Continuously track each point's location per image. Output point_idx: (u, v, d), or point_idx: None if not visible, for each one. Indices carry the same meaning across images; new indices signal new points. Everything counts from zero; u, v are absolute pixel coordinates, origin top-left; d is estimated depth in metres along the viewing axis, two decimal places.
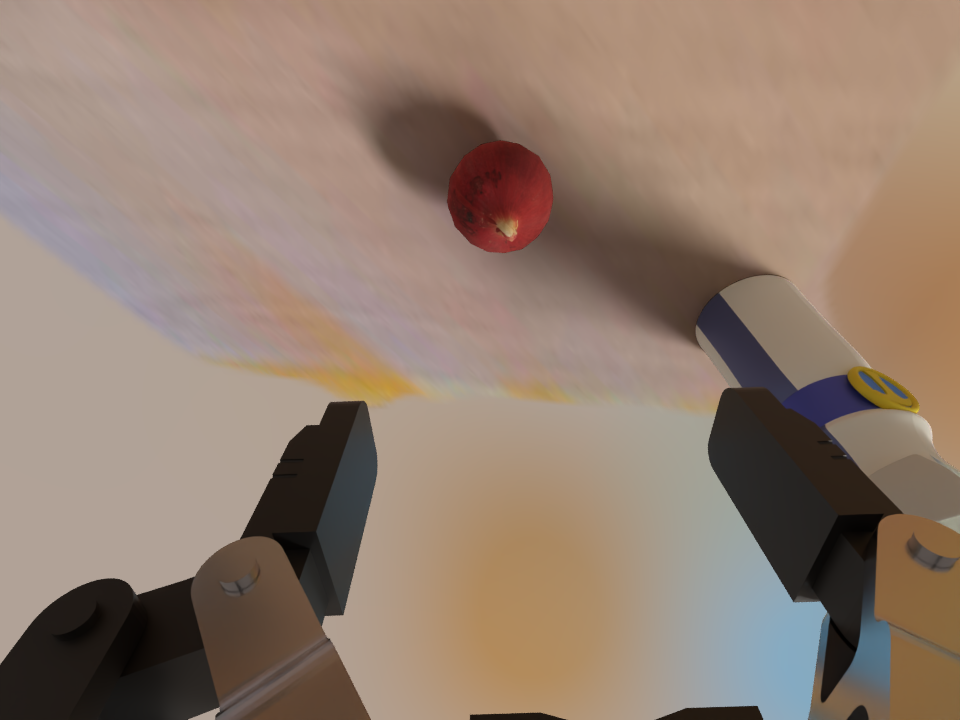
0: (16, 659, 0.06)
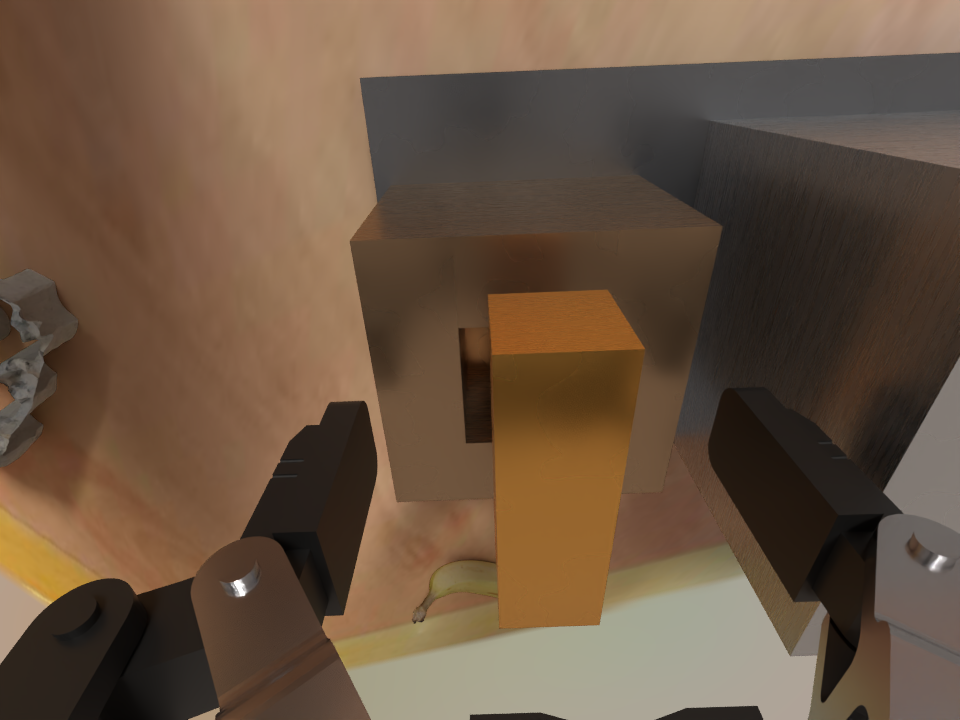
0: (16, 659, 0.06)
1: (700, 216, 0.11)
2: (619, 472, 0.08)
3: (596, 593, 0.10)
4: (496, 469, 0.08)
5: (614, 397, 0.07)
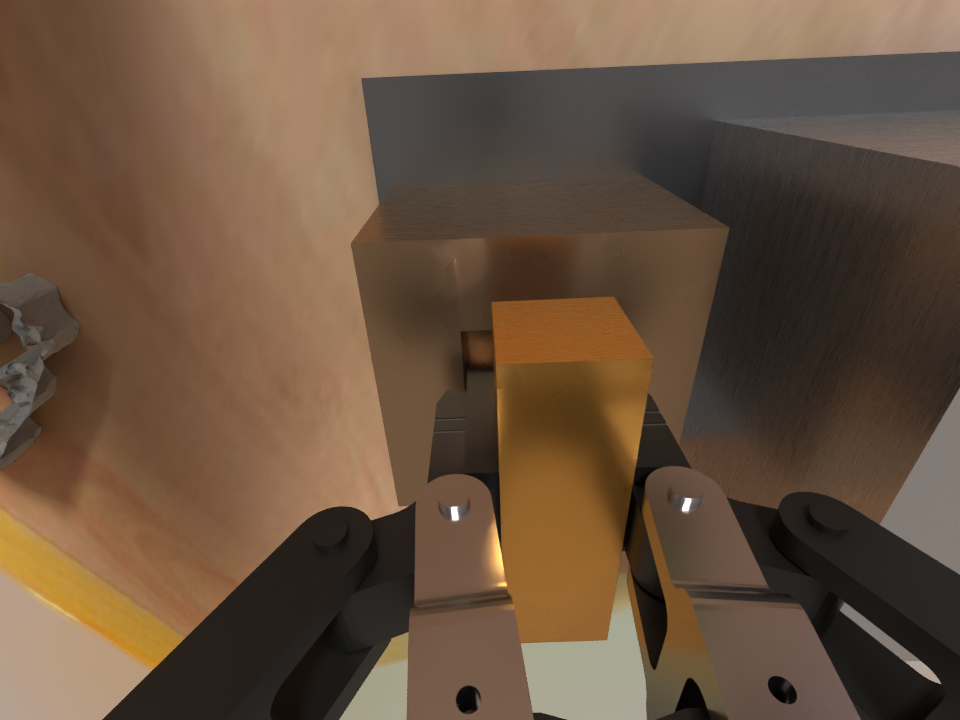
0: (288, 549, 0.07)
1: (706, 217, 0.11)
2: (627, 484, 0.08)
3: (603, 608, 0.10)
4: (500, 481, 0.08)
5: (622, 407, 0.07)
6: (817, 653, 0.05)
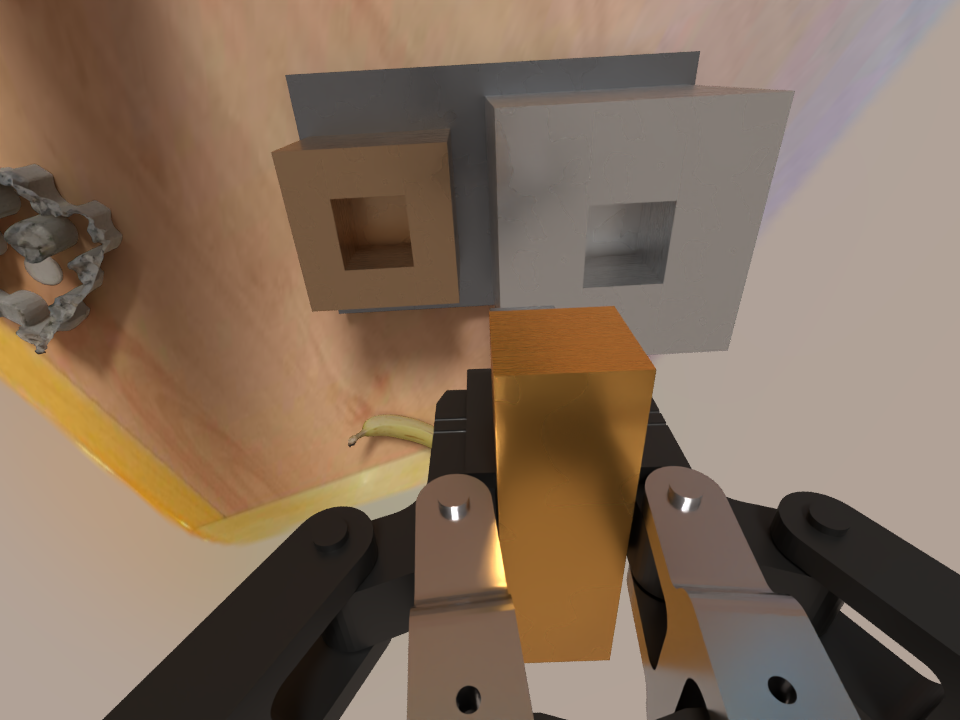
0: (288, 549, 0.07)
1: (444, 140, 0.22)
2: (629, 499, 0.08)
3: (606, 627, 0.09)
4: (499, 496, 0.08)
5: (624, 420, 0.07)
6: (817, 653, 0.05)
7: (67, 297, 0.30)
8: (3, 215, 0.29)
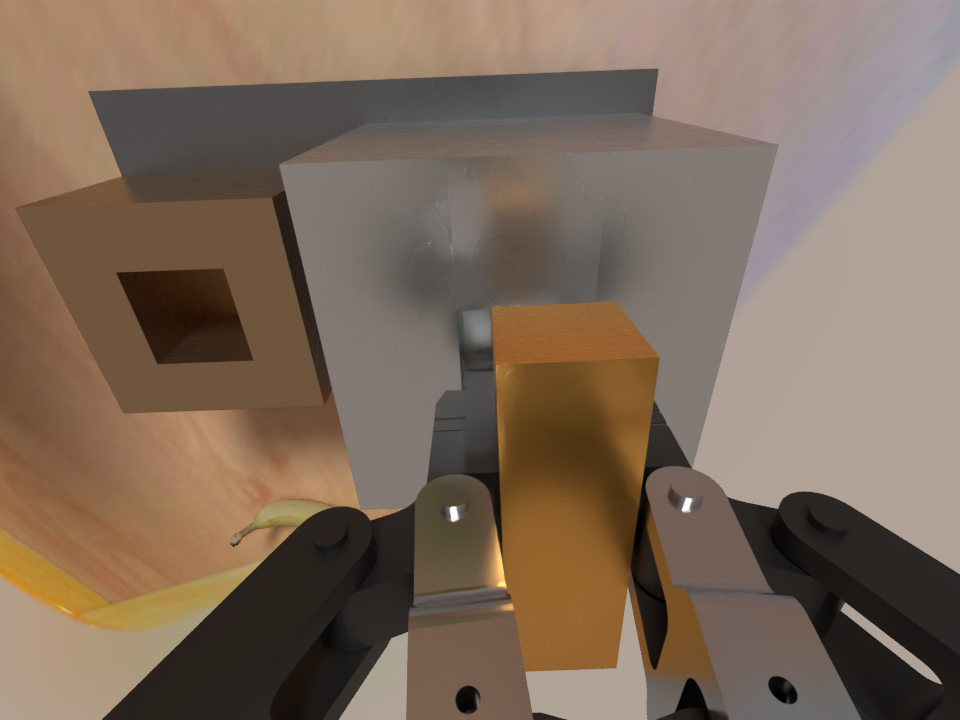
0: (287, 549, 0.07)
1: (276, 192, 0.15)
2: (634, 494, 0.07)
3: (612, 631, 0.09)
4: (501, 492, 0.07)
5: (628, 411, 0.07)
6: (818, 653, 0.05)
7: None
8: None
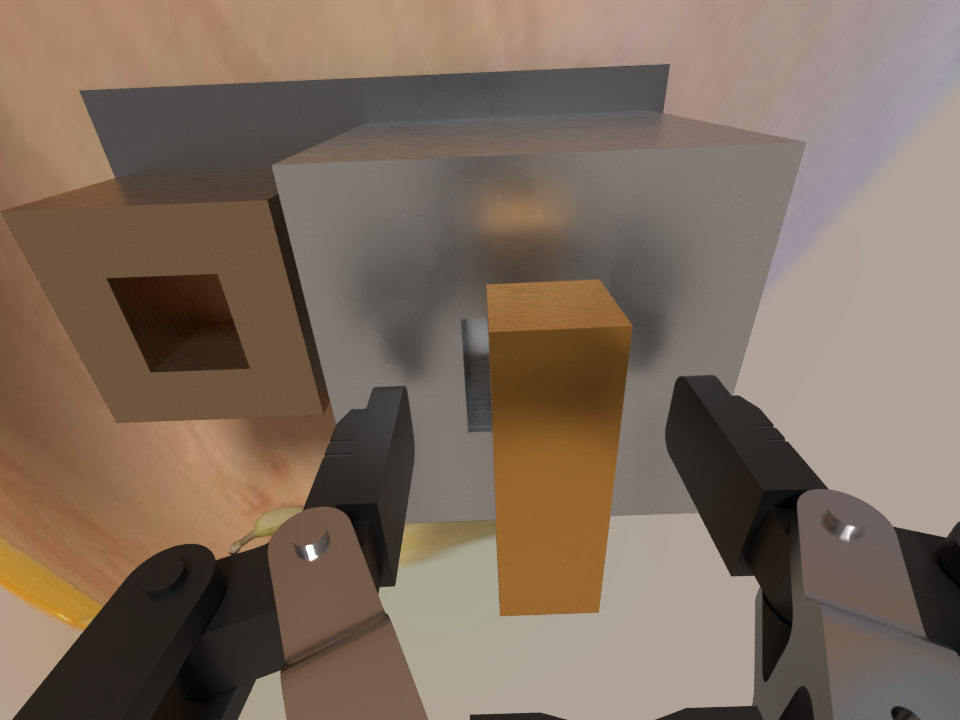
0: (113, 608, 0.06)
1: (272, 194, 0.15)
2: (612, 450, 0.08)
3: (594, 578, 0.10)
4: (494, 447, 0.08)
5: (605, 374, 0.08)
6: None
7: None
8: None
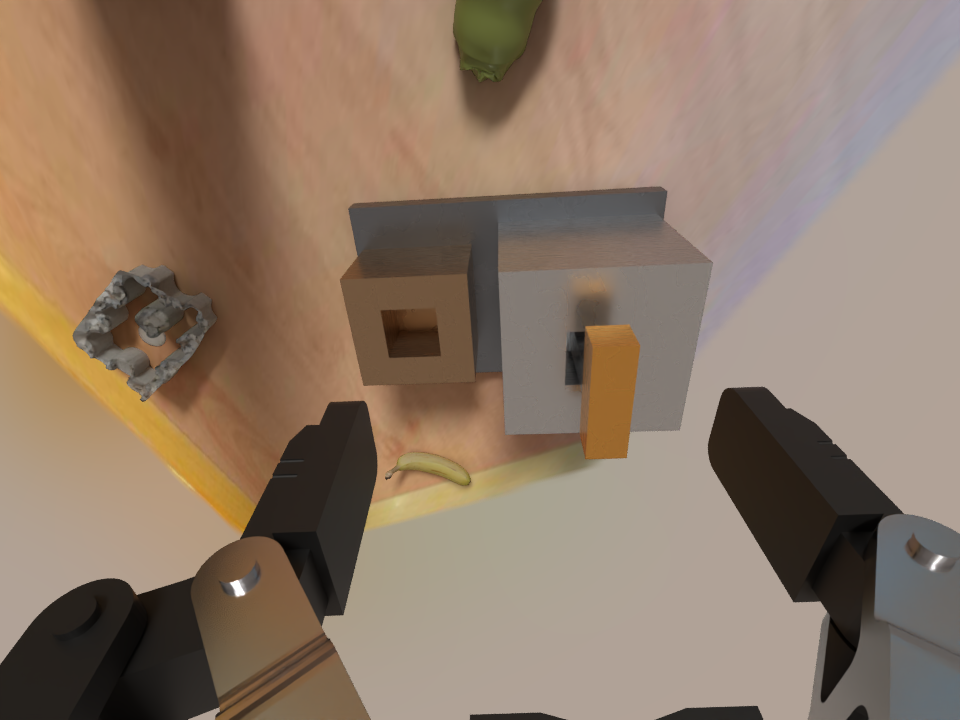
0: (16, 659, 0.06)
1: (465, 269, 0.30)
2: (633, 388, 0.23)
3: (625, 441, 0.25)
4: (590, 387, 0.23)
5: (631, 361, 0.23)
6: None
7: (171, 363, 0.39)
8: (133, 299, 0.38)
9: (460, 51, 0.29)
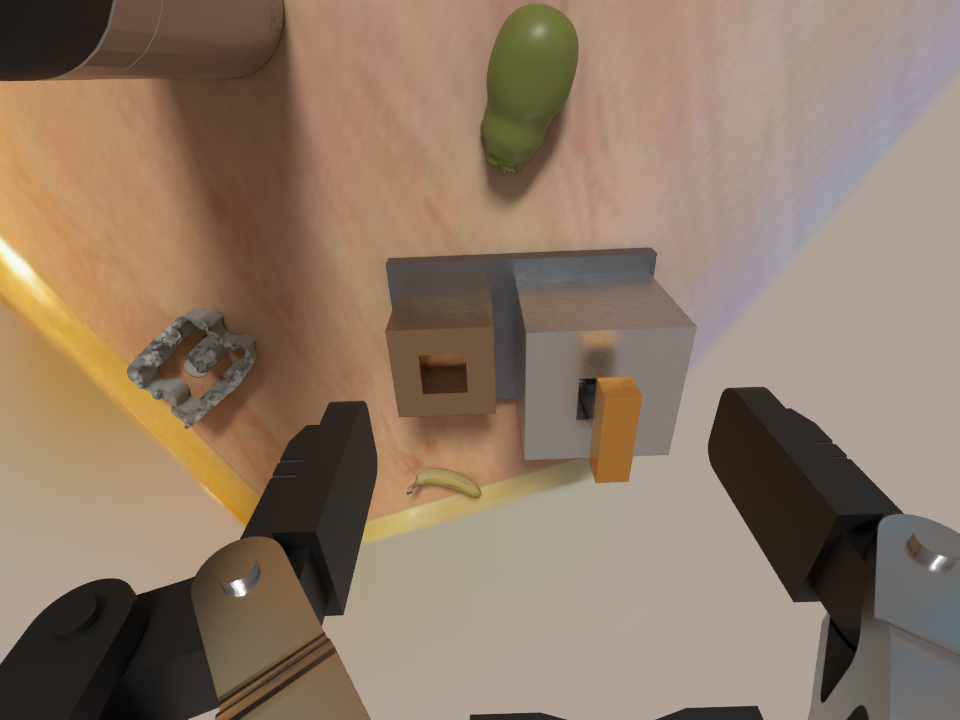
0: (16, 659, 0.06)
1: (491, 321, 0.36)
2: (635, 428, 0.29)
3: (628, 468, 0.31)
4: (602, 427, 0.29)
5: (634, 408, 0.29)
6: None
7: (216, 395, 0.43)
8: (184, 337, 0.42)
9: (486, 147, 0.34)
